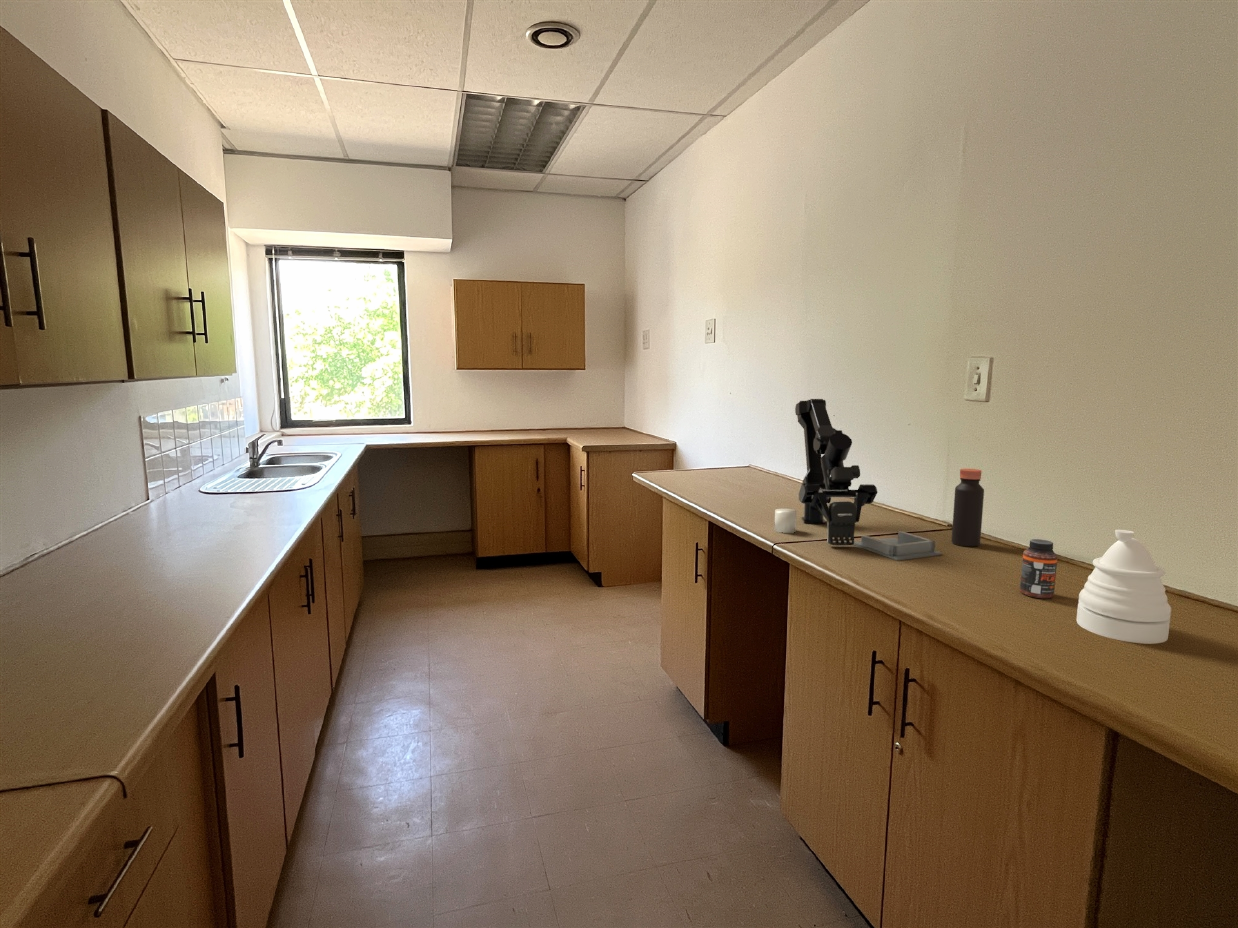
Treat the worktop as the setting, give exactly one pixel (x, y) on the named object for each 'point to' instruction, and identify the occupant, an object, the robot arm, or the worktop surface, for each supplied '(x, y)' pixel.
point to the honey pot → (1125, 595)
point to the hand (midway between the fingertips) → (843, 521)
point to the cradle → (900, 546)
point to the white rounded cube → (785, 520)
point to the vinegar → (968, 509)
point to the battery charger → (841, 523)
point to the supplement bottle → (1039, 569)
